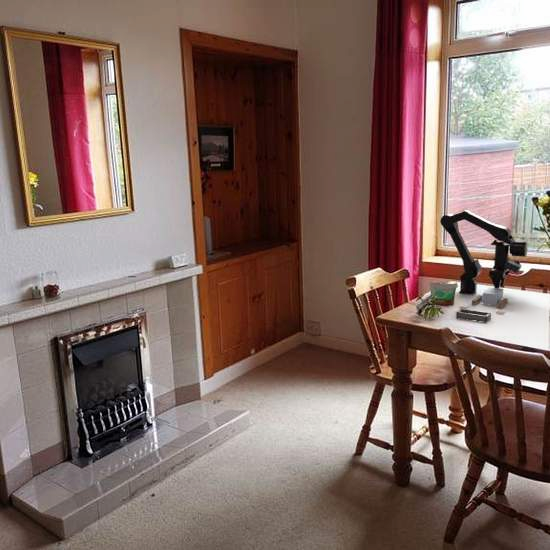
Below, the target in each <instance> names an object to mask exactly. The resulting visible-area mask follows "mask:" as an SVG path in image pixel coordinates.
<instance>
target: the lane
mask: <svg viewBox="0 0 550 550" xmlns="http://www.w3.org/2000/svg"><path fill="white" fill-rule="evenodd" d="M482 301H483V294H479V295H476V297H474V298H473V299H472V300H471V305H472V306H477V305H478V304H479V303H480V302H482ZM508 302H509V298H505V297H503V300H501V301H500V302H499V303H498V305H497V309H499V308H500V309H499V310H503V308H504V307H505V306H506V305H507V304H508ZM477 303H478V304H477ZM476 304H477V305H476Z"/></svg>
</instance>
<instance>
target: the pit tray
mask: <svg viewBox="0 0 550 550" xmlns="http://www.w3.org/2000/svg"><path fill="white" fill-rule="evenodd" d="M455 314H456V315H455V318H456V319H459V318H460V320H466V319H468V320H467V321H472V320H476V321H475V322H479V321H483V322H482V323H486V322H487V321H488V322H489V321H491V319H492V312H488V311H481V310H472V309H469V308H468V309H458V310H457V311H456V313H455ZM488 322H487V323H488Z"/></svg>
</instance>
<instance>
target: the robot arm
mask: <svg viewBox="0 0 550 550" xmlns="http://www.w3.org/2000/svg"><path fill="white" fill-rule="evenodd" d="M461 221H467V222H469V223H470V224H472V225H475V226H476V227H479V229H482V230H484V231H486V232H487V233H489V234H490V235H491V236H492V237H493V238H494V240H493V241H492V242H491V243H490V245H491V246H495V247H494V257H493V261H494V264H493V266H492V269H491V270H489V271H488V277H489V278H490V280H491V282H492V284H493V288H501V287H504V285H505V281H506V277H507V275H509V274H510V273H511V272H513V273H515V274H518V273H520V270H521V268H522V264H521V260H519V259H517V260H515V261H513V260H511V257H510V256H509V254H510V255H511V256H512V257H521V258H522V257H523V258H527V254H528V245H527V243H528V242H527V241H517V240H516V239H514V237H513V236H512V232H511V231H512V230H511V229H510V228H509V227H507V226H504V225H500V224H497V223H493V222H491V221H489V220H487V219H485V218H483V217H481V216H479V215H477V214H475V213H473V212H471V211H470V210H463V211H462V212H459V213H455V214H453V213H448V214H445V215H443V216H441V218H440V221H439V223H440V224H441V226H442V228H443V229H444V230H445V232H447V233H448V234H449V235H450V238H451V239H452V241H453V244H454V246H455V248H456V249H457V252H458V254H459V256H460V258H461V260H462V267H463V270H464V273H462V274H461V275H460V276H459V278H460V288H459V289H460V290H459V291H458V292H459V293H461V294H467V295H474V294H475V293H477V289H478V288H477V287H478V283H477V280H476V278H477V277H478V276H479V275H480V274H481V272H482V265H481V264H480V262H479V259H478V258H477V259H475V258H474V257H473V256H472V254H471V252H470V250H469V248H468V246H467V244H466V243H465V241H464V238H463V236H462V235H461V232H460V230H459V222H461Z"/></svg>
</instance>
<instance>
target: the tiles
mask: <svg viewBox="0 0 550 550" xmlns="http://www.w3.org/2000/svg"><path fill="white" fill-rule="evenodd" d="M459 308H461V309H467V308H468V309H469V308H470V305H466V304H461V305H459ZM495 314H496V315H502V314H503V315H505V314H506V310H504V309H497V310H496V311H495Z"/></svg>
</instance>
